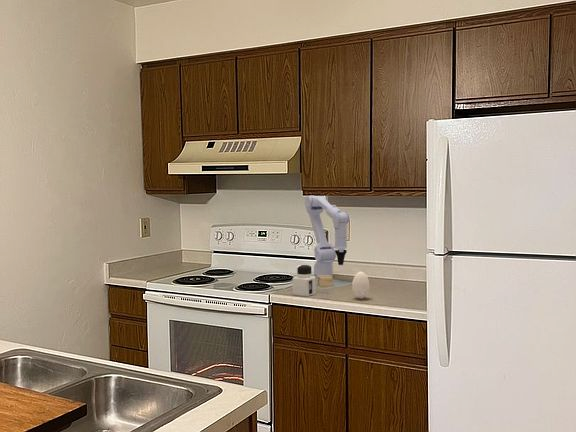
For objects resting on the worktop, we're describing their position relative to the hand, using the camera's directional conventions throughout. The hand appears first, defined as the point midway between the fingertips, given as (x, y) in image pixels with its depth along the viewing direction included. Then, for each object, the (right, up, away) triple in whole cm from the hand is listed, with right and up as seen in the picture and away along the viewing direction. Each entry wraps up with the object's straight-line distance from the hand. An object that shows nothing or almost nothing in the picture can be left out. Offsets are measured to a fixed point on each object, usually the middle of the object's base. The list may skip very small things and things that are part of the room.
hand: (340, 264), depth 295 cm
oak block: (-8, -9, -6) cm, 14 cm away
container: (-18, -12, -23) cm, 32 cm away
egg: (+6, -12, -34) cm, 36 cm away
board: (-5, -10, -5) cm, 12 cm away
